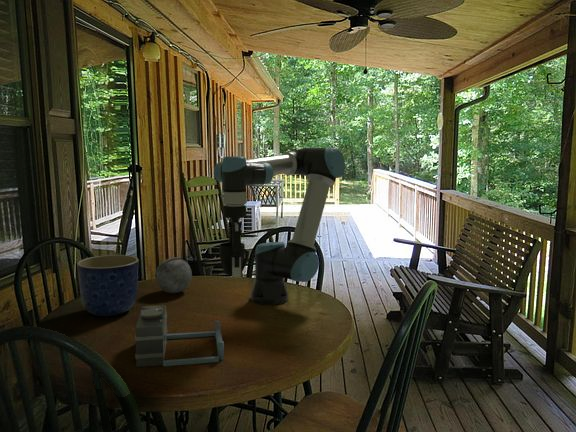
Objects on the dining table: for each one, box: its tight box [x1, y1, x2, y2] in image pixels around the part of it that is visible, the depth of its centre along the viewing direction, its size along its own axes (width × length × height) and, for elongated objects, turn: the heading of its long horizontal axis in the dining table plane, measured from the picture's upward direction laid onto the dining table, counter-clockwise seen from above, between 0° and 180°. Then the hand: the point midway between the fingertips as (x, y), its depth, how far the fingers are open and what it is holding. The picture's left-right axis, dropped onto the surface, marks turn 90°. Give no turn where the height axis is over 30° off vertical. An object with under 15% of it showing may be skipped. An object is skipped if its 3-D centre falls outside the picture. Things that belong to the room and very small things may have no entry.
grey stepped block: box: [134, 304, 168, 368], centre depth 129 cm, size 7×18×13 cm, turn 12°
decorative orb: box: [154, 257, 193, 294], centre depth 186 cm, size 15×14×15 cm
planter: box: [76, 254, 140, 317], centre depth 162 cm, size 21×21×19 cm
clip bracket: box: [162, 320, 225, 367], centre depth 132 cm, size 16×20×5 cm
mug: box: [218, 241, 250, 276], centre depth 144 cm, size 8×12×10 cm
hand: (235, 272), depth 146 cm, fingers closed on mug, 10 cm apart
